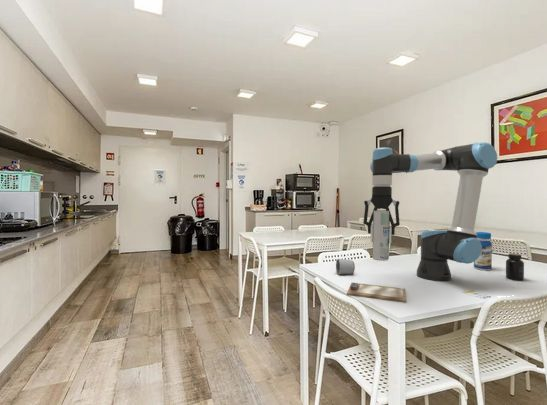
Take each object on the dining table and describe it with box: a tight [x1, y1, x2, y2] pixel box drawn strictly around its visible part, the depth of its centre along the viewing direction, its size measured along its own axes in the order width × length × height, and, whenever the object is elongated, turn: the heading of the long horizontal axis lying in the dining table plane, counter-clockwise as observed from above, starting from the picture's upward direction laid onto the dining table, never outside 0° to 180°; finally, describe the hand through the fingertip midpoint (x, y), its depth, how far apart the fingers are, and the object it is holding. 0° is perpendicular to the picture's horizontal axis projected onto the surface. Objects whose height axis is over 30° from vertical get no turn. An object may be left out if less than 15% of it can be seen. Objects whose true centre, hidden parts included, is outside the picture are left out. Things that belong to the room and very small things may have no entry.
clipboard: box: [346, 282, 407, 303], centre depth 122 cm, size 22×15×2 cm
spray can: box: [372, 209, 391, 262], centre depth 121 cm, size 6×6×20 cm
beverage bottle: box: [473, 231, 494, 271], centre depth 162 cm, size 8×8×20 cm
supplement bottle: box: [505, 253, 525, 282], centre depth 143 cm, size 7×7×12 cm
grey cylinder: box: [335, 258, 356, 275], centre depth 152 cm, size 11×8×8 cm
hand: (380, 242), depth 121 cm, fingers closed on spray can, 6 cm apart
